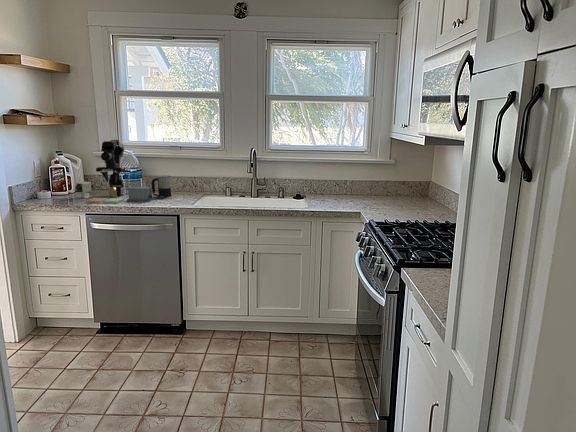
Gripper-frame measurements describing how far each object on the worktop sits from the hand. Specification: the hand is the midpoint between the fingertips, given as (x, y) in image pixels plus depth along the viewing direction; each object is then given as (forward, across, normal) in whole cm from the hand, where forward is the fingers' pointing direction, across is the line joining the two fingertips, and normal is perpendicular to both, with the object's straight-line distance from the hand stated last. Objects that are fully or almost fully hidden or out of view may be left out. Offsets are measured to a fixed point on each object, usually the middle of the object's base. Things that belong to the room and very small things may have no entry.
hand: (111, 181), depth 300 cm
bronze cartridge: (+12, 0, 0) cm, 12 cm away
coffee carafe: (+12, -32, -11) cm, 36 cm away
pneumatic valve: (+12, +21, 0) cm, 24 cm away
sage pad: (+12, -7, +12) cm, 18 cm away
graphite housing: (+12, -22, +3) cm, 25 cm away
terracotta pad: (+12, +5, +12) cm, 18 cm away
